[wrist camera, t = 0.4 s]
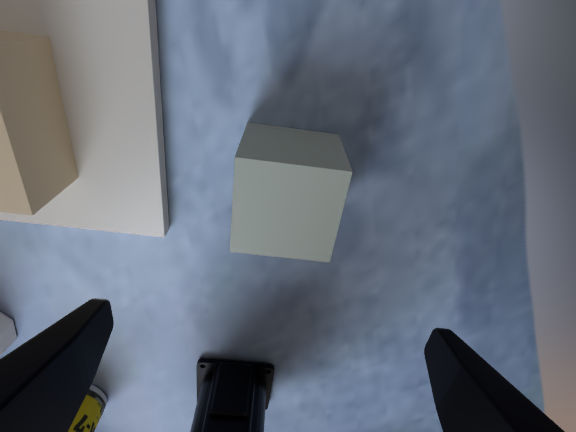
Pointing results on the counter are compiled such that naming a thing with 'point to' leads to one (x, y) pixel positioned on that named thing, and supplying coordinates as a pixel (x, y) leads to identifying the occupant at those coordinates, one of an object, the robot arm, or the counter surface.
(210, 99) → the counter surface
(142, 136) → the build base
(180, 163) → the counter surface
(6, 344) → the pepper shaker
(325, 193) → the sage cube
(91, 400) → the supplement bottle
